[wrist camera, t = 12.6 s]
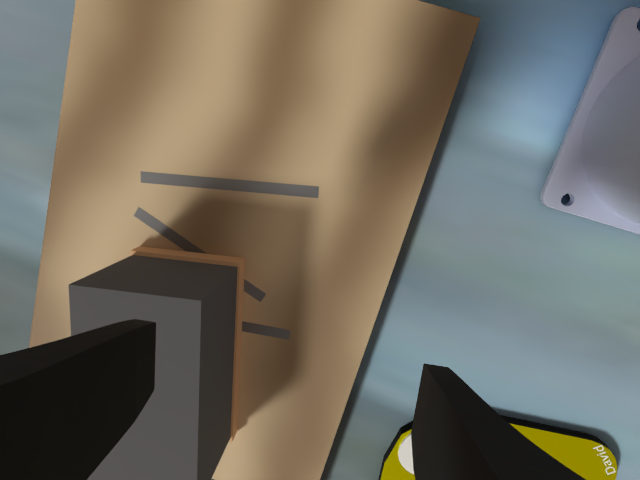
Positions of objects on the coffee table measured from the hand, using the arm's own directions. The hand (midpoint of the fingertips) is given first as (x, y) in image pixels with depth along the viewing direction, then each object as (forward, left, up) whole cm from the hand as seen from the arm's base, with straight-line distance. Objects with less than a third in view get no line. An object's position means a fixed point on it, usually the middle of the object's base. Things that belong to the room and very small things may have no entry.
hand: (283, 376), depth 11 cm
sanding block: (+5, +5, -8) cm, 11 cm away
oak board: (+5, 0, -9) cm, 11 cm away
